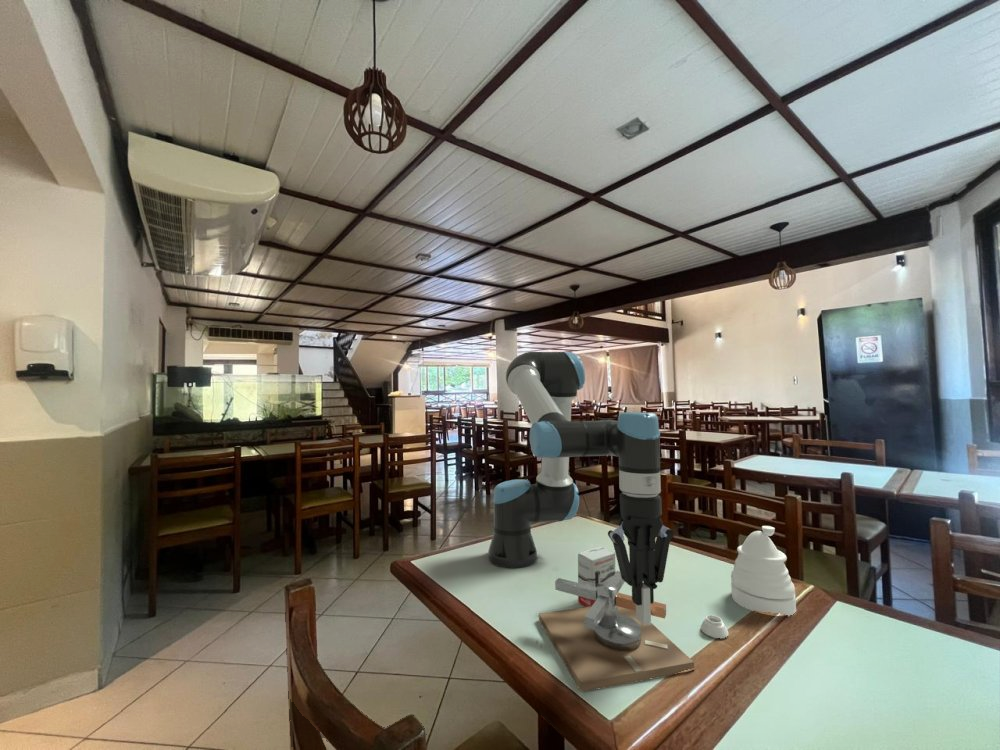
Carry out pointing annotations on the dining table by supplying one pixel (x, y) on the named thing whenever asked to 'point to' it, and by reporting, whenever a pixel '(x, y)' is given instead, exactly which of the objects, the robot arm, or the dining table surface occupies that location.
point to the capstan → (610, 612)
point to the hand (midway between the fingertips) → (643, 621)
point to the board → (610, 651)
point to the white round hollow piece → (714, 627)
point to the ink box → (595, 569)
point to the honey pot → (762, 576)
